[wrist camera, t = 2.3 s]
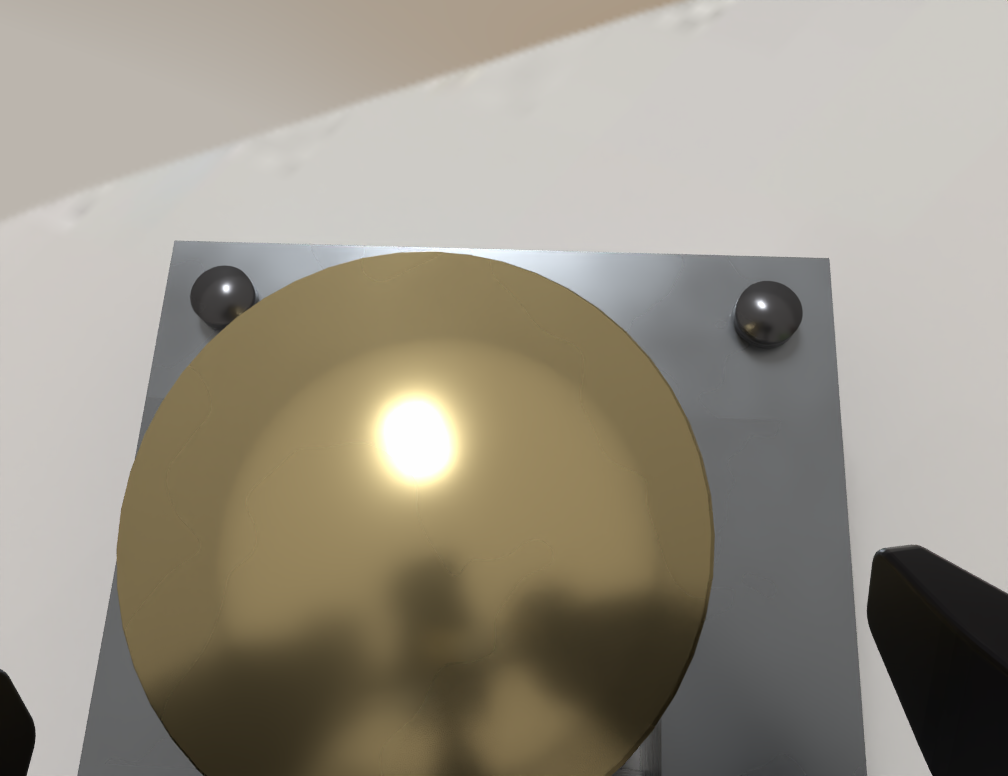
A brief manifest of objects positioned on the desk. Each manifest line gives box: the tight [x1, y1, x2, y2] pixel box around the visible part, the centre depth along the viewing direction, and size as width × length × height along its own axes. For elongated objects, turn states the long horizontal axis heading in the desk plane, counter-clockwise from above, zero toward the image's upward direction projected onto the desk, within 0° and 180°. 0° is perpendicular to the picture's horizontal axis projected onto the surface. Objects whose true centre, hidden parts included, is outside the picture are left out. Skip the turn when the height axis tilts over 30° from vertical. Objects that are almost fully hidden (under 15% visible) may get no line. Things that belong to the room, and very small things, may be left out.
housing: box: [78, 241, 867, 776], centre depth 16 cm, size 13×13×3 cm
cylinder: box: [117, 251, 715, 776], centre depth 12 cm, size 5×5×11 cm
